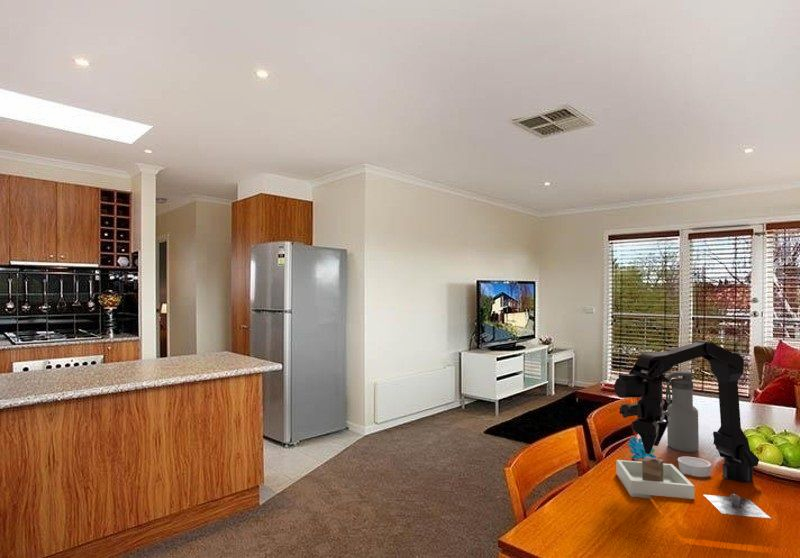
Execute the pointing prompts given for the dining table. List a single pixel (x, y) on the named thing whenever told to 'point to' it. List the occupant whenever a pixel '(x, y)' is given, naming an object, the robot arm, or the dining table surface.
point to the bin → (670, 487)
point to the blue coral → (639, 449)
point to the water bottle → (682, 413)
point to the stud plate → (735, 510)
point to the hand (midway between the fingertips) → (651, 449)
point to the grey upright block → (652, 469)
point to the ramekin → (694, 466)
